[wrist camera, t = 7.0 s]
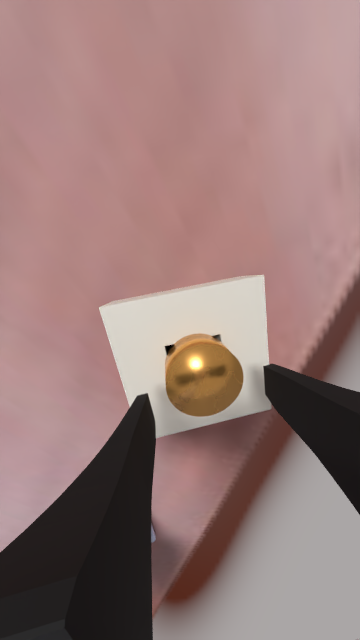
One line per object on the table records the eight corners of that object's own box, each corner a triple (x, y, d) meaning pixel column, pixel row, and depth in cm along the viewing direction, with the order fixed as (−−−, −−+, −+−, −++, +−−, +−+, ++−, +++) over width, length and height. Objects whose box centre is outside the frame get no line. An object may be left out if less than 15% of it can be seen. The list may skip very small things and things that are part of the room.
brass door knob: (218, 364, 18) (247, 406, 12) (170, 376, 17) (174, 424, 11) (211, 317, 16) (239, 337, 10) (158, 328, 16) (157, 356, 10)
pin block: (251, 385, 19) (271, 409, 15) (144, 411, 18) (140, 441, 14) (241, 276, 16) (264, 274, 12) (112, 301, 15) (98, 307, 12)
